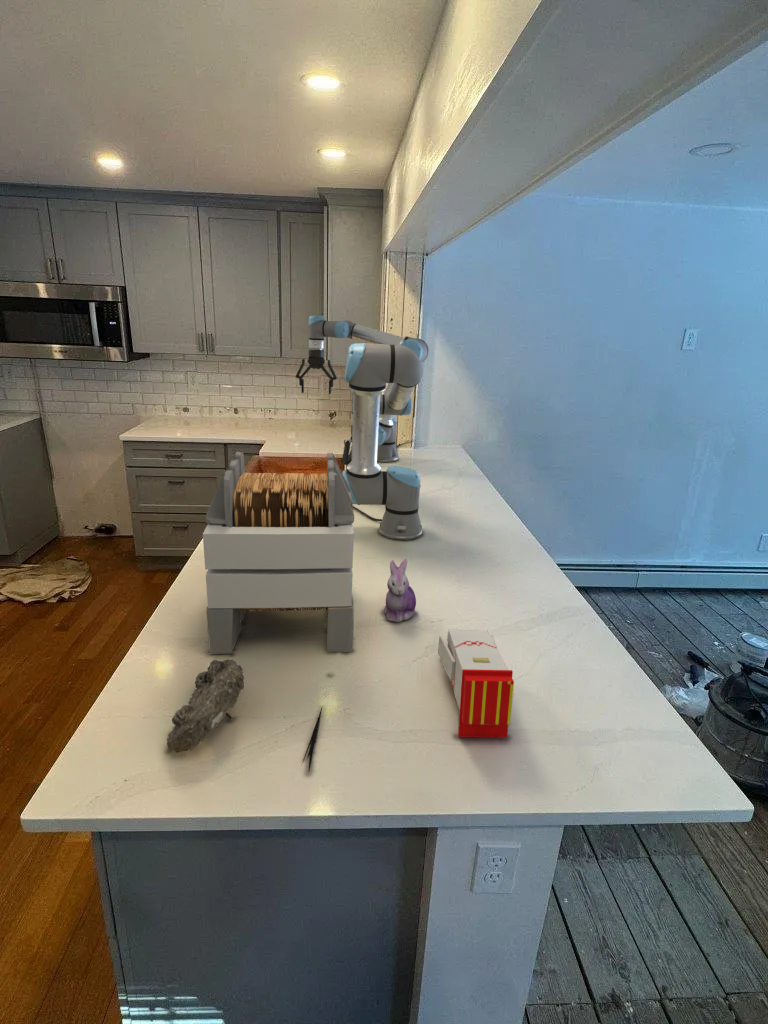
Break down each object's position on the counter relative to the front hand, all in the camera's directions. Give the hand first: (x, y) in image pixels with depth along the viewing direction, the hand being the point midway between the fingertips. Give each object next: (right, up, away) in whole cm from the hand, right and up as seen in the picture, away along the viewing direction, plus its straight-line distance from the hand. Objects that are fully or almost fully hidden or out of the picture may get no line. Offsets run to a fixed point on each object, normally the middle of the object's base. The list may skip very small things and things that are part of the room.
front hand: (359, 479), depth 234 cm
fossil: (-22, -52, -125) cm, 138 cm away
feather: (-2, -53, -125) cm, 136 cm away
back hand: (-24, +46, +50) cm, 72 cm away
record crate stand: (-15, -40, -90) cm, 99 cm away
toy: (+28, -51, -115) cm, 129 cm away
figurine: (+14, -40, -86) cm, 96 cm away
